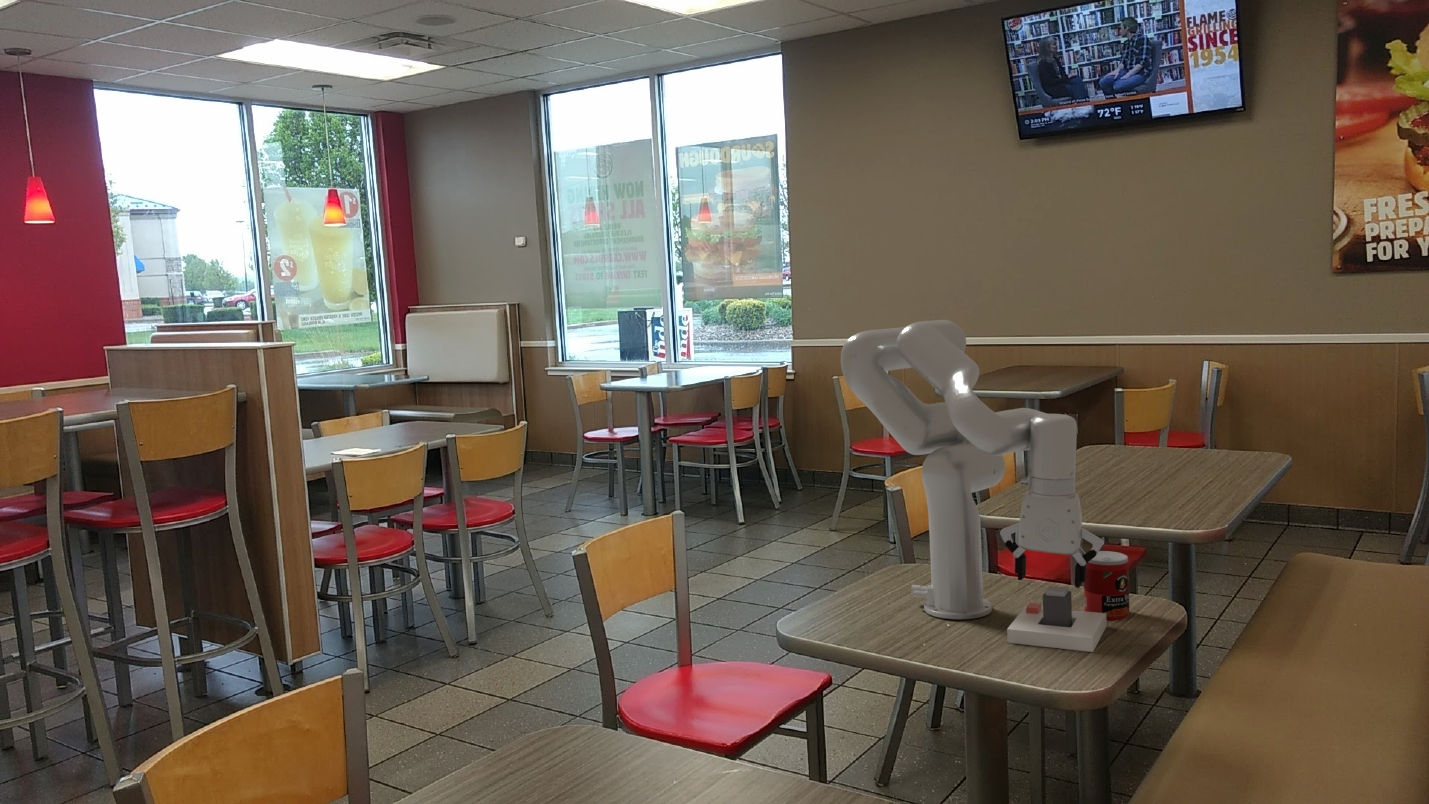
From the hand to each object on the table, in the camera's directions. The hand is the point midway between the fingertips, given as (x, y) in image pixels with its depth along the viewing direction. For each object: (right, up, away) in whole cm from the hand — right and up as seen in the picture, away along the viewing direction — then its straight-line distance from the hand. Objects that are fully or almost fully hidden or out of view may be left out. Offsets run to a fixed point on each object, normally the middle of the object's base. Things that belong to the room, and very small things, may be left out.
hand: (1049, 581), depth 181 cm
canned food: (+13, -8, +9) cm, 18 cm away
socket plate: (+1, -9, 0) cm, 9 cm away
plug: (+1, -9, 0) cm, 9 cm away
